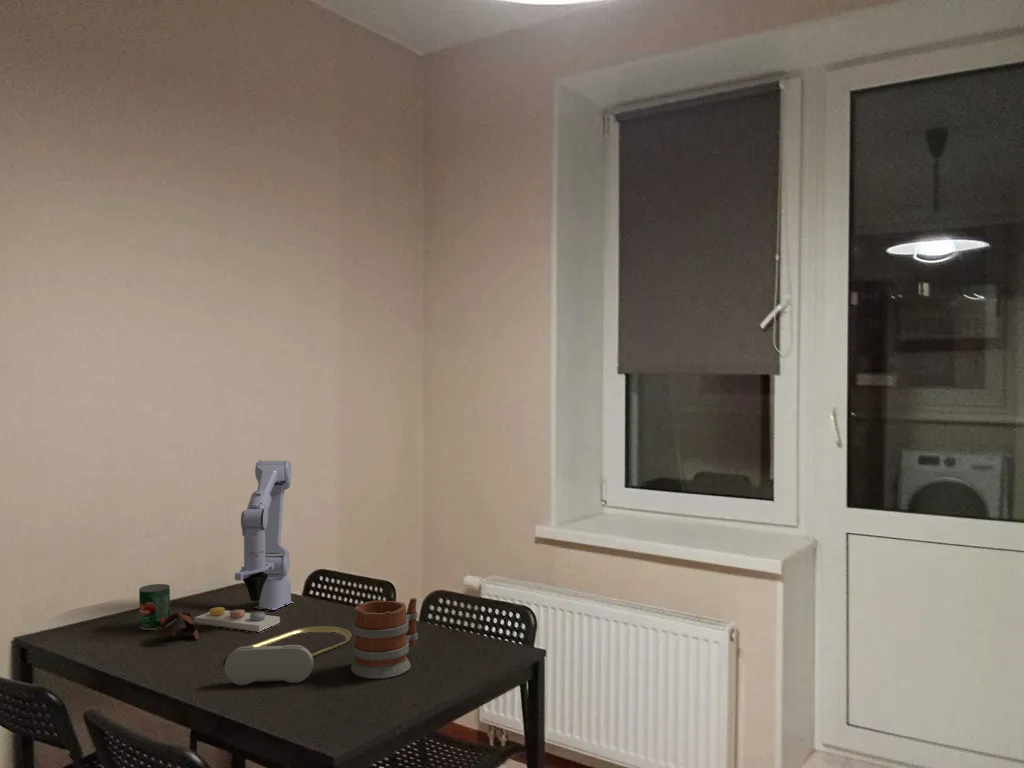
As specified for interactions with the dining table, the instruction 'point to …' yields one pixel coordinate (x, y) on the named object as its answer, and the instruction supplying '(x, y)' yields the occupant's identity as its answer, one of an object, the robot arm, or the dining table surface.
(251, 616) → the button slate
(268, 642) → the u-shaped metal loop
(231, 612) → the button terracotta
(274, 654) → the game controller
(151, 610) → the canned tomato
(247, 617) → the button panel
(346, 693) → the dining table surface
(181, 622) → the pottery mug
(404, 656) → the mug
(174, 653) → the dining table surface
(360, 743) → the dining table surface
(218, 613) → the button amber
